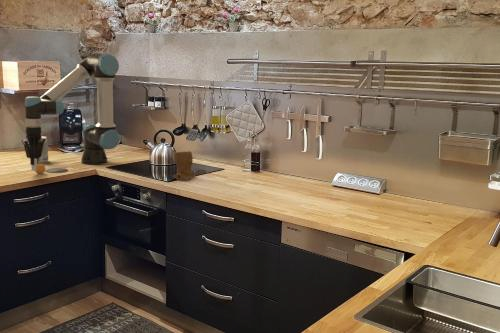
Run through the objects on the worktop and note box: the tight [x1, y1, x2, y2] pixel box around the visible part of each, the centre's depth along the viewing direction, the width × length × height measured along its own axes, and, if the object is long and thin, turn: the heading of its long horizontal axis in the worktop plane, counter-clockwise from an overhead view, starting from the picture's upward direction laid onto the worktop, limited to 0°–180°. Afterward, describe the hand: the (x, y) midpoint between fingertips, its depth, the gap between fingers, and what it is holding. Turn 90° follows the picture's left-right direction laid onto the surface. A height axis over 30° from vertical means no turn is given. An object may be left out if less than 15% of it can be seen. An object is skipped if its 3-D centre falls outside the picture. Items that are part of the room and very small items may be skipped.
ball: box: [34, 163, 46, 175], centre depth 280 cm, size 6×6×6 cm
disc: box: [44, 167, 69, 174], centre depth 290 cm, size 12×12×1 cm
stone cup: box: [172, 150, 198, 181], centre depth 284 cm, size 15×12×15 cm
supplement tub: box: [38, 135, 49, 164], centre depth 310 cm, size 10×10×15 cm
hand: (34, 170), depth 278 cm, fingers closed
